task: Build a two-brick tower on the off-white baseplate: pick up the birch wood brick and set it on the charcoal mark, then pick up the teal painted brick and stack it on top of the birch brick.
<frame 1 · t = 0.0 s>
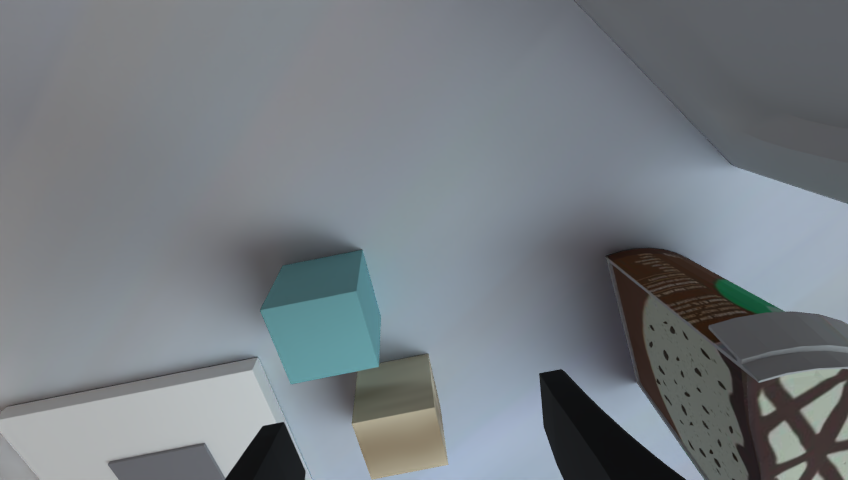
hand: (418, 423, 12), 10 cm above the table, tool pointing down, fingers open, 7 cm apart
birch brick: (400, 386, 24), on the table
baseplate: (185, 468, 26), on the table
teal brick: (333, 291, 22), on the table
food container: (674, 303, 23), on the table
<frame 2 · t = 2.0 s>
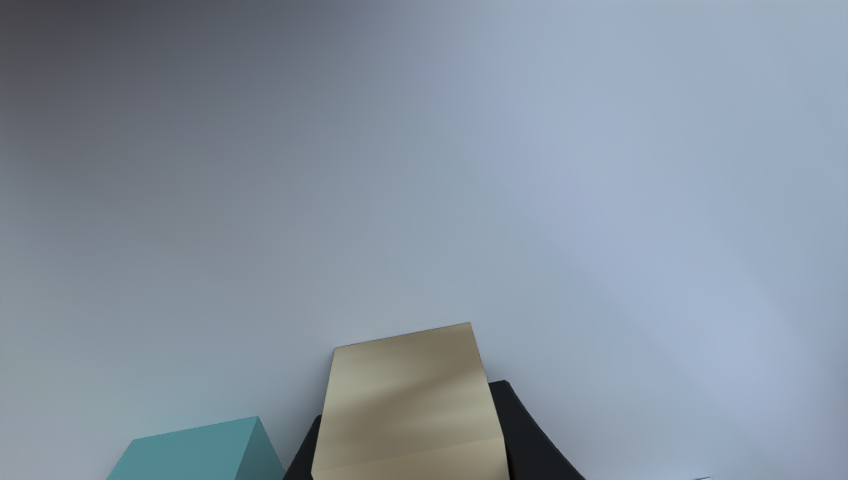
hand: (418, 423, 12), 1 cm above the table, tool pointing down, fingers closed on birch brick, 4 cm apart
birch brick: (415, 386, 13), on the table, touching gripper
teal brick: (220, 468, 14), on the table
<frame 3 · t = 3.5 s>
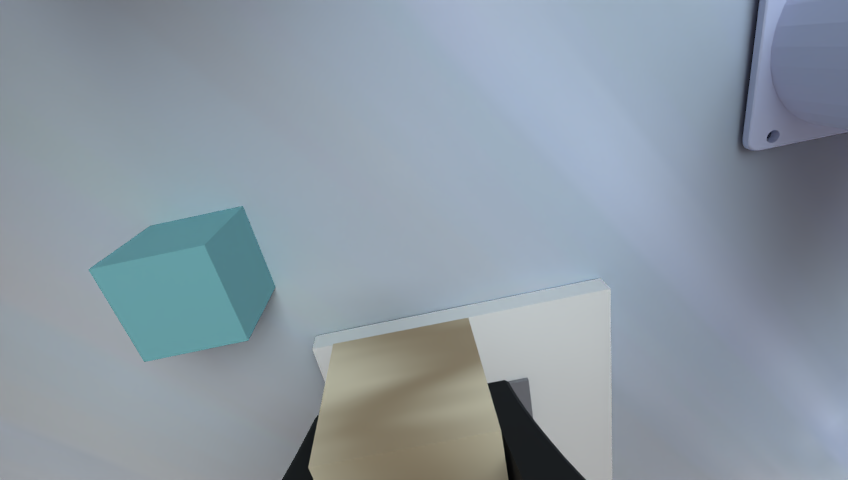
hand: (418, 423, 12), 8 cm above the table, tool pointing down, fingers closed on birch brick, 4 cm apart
birch brick: (413, 382, 13), point 7 cm above the table, touching gripper
baseplate: (477, 412, 23), on the table
teal brick: (216, 256, 18), on the table
when the fingers open (4 cm above the table, at t = 5.3 s): birch brick drops 1 cm, resting on baseplate.
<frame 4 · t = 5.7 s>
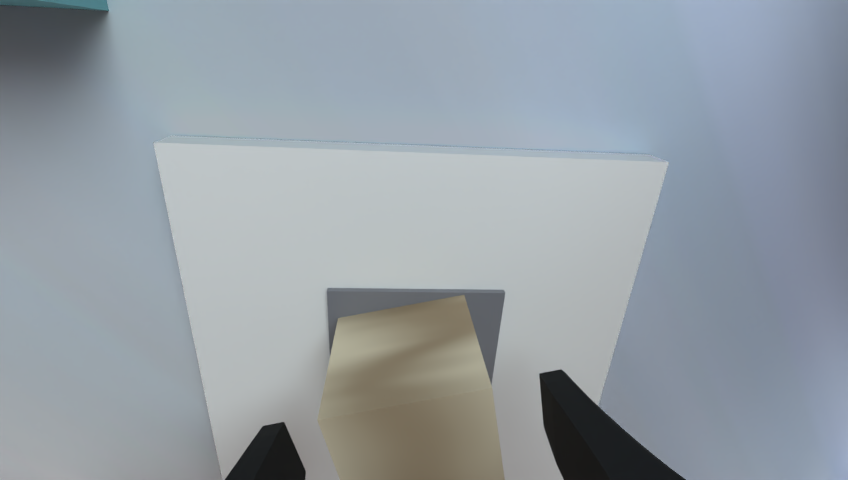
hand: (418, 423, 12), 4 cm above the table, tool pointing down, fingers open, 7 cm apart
birch brick: (412, 356, 14), point 1 cm above the table, touching baseplate
baseplate: (412, 340, 15), on the table
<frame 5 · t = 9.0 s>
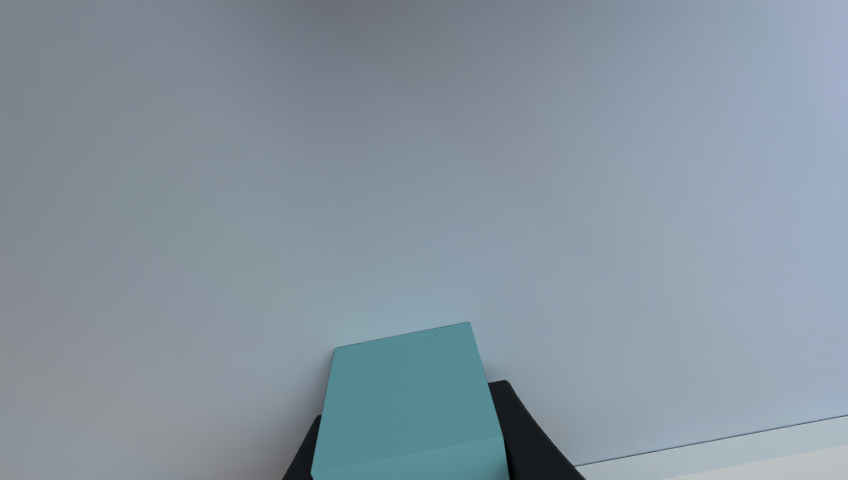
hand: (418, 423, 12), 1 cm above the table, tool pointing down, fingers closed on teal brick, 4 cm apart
teal brick: (415, 386, 13), on the table, touching gripper
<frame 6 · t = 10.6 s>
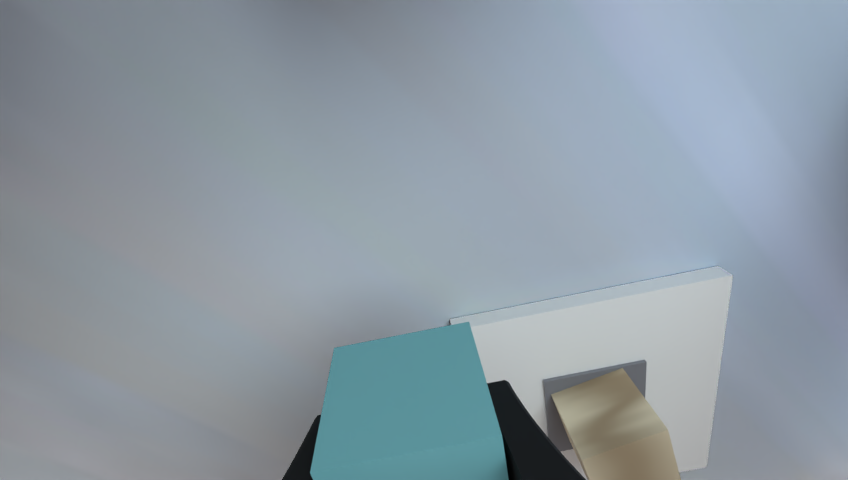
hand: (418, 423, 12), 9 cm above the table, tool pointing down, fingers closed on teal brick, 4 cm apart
birch brick: (595, 406, 23), point 1 cm above the table, touching baseplate
baseplate: (587, 394, 24), on the table
teal brick: (414, 386, 13), point 8 cm above the table, touching gripper
when the fingers open (8 cm above the table, at t = 12.1 s): teal brick drops 1 cm, resting on birch brick.
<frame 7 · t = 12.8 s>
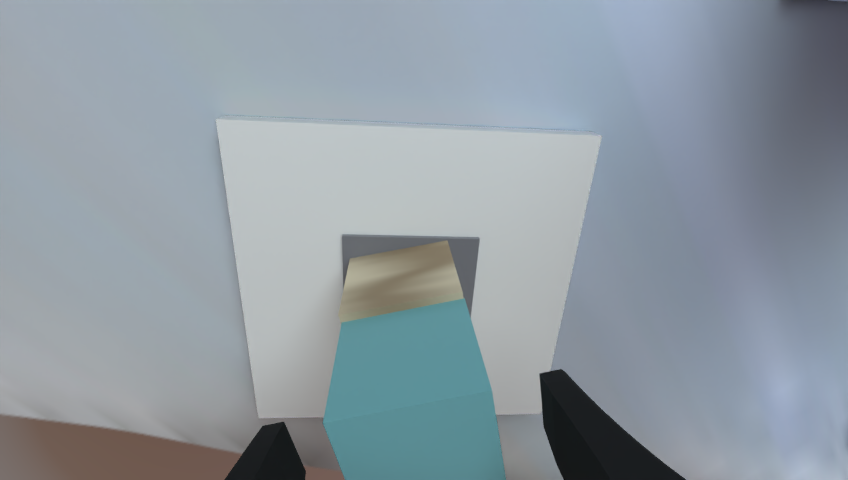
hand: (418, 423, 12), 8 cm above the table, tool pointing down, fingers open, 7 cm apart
birch brick: (407, 291, 18), point 1 cm above the table, touching baseplate, teal brick
baseplate: (408, 282, 19), on the table
teal brick: (415, 359, 14), point 5 cm above the table, touching birch brick
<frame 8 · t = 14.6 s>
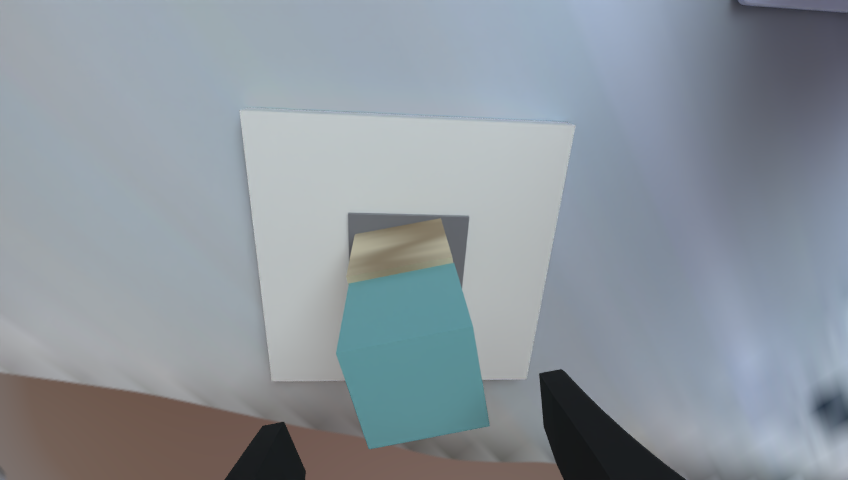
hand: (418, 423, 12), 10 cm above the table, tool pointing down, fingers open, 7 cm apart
birch brick: (406, 264, 20), point 1 cm above the table, touching baseplate, teal brick
baseplate: (406, 258, 21), on the table
teal brick: (411, 317, 16), point 5 cm above the table, touching birch brick
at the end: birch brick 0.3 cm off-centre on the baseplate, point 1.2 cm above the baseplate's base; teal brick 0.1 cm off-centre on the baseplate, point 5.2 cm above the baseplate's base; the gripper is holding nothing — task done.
